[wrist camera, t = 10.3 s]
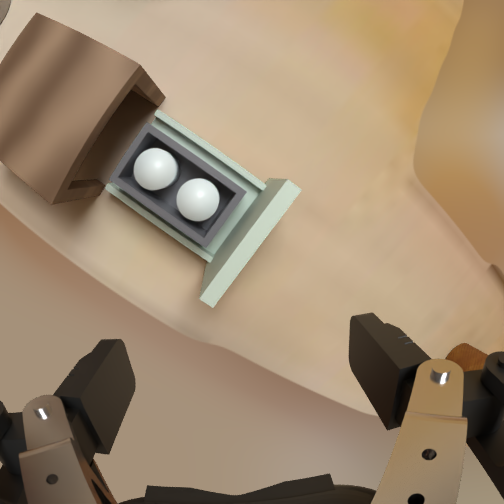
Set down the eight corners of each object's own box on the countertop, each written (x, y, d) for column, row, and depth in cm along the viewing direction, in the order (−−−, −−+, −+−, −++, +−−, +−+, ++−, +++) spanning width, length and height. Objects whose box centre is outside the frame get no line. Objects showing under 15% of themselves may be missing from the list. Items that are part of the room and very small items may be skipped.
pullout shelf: (108, 194, 28) (64, 202, 19) (167, 107, 27) (143, 79, 18) (216, 269, 31) (212, 307, 22) (278, 185, 30) (301, 189, 21)
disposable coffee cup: (483, 350, 39) (526, 385, 28) (446, 392, 40) (483, 434, 29) (466, 322, 37) (517, 359, 26) (425, 370, 38) (468, 417, 27)
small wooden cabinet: (22, 135, 26) (-34, 128, 16) (78, 46, 24) (36, 12, 15) (99, 195, 29) (51, 204, 19) (165, 97, 27) (140, 64, 18)
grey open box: (125, 178, 27) (108, 179, 23) (158, 129, 27) (146, 122, 22) (208, 237, 29) (206, 248, 25) (243, 189, 29) (247, 191, 24)
